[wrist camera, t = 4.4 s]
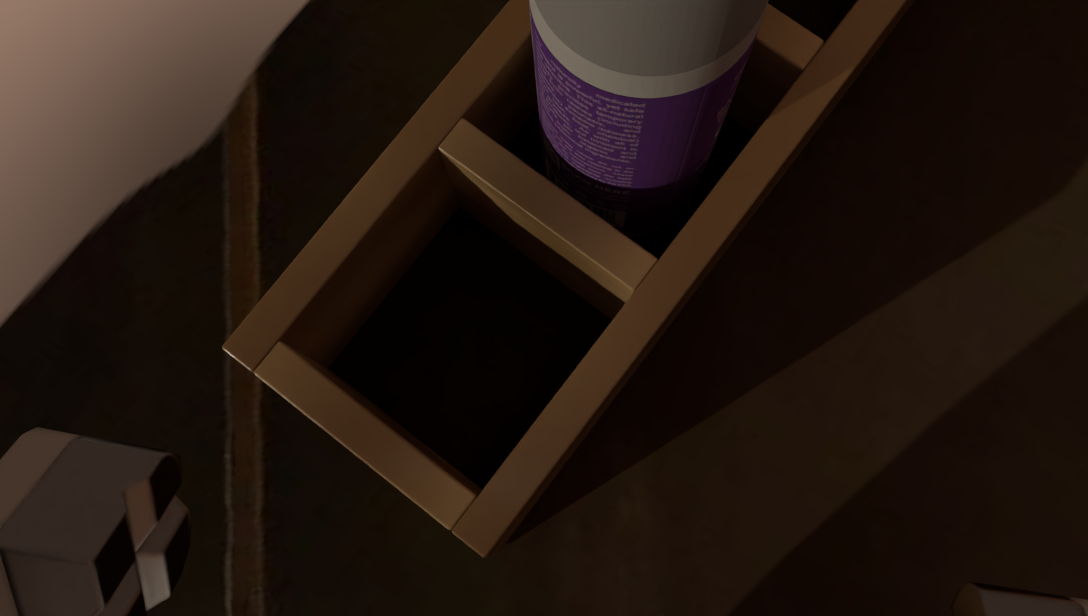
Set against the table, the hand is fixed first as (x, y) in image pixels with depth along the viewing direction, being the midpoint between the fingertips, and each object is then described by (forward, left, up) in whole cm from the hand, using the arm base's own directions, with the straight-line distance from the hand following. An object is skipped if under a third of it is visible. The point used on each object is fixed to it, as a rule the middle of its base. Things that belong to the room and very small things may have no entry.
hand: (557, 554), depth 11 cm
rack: (-5, +9, -18) cm, 21 cm away
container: (-5, +9, -18) cm, 21 cm away
